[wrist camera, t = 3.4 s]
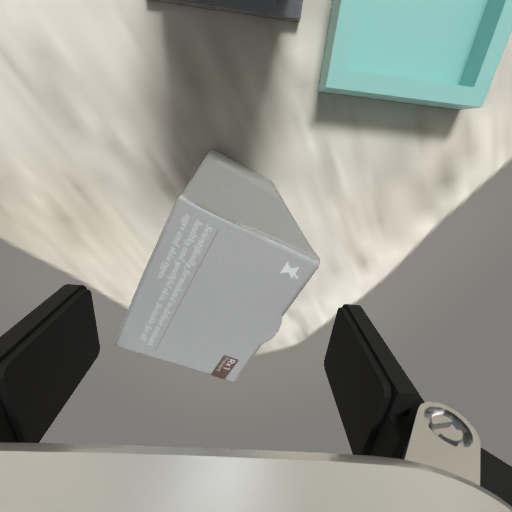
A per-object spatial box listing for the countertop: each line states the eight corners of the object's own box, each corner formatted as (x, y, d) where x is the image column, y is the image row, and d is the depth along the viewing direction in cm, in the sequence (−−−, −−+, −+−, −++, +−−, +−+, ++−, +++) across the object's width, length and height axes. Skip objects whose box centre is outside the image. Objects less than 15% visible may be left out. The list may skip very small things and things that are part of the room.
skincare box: (210, 146, 23) (160, 168, 9) (281, 186, 25) (335, 258, 11) (173, 229, 26) (91, 346, 12) (239, 260, 28) (237, 395, 14)
